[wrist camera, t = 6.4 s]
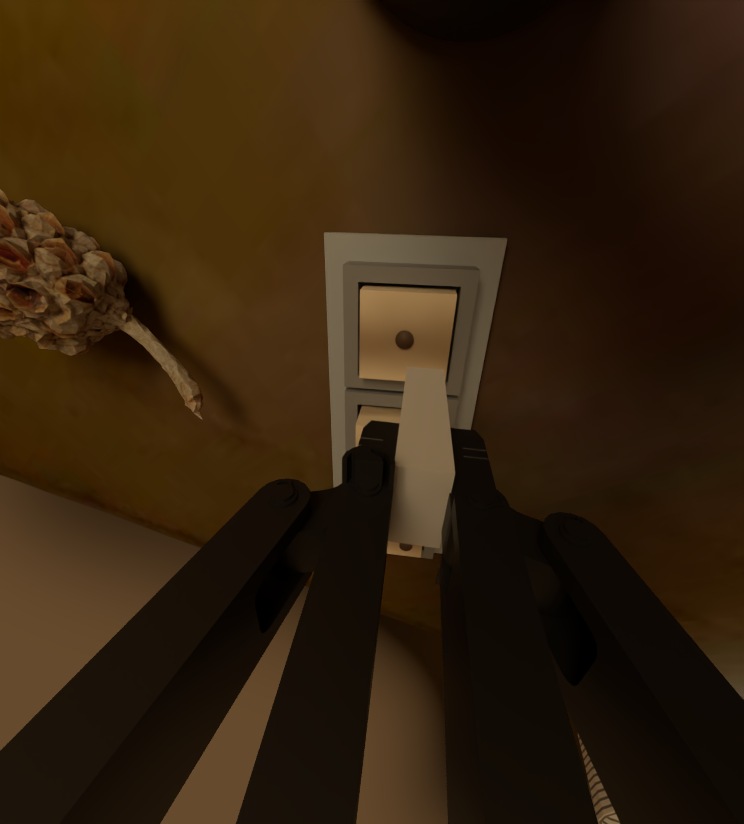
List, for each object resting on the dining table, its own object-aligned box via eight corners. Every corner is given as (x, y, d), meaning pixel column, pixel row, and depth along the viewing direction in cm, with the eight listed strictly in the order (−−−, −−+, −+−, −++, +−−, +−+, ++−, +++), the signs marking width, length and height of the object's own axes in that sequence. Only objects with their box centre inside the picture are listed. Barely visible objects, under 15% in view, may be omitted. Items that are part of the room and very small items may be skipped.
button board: (328, 232, 24) (315, 233, 22) (503, 237, 23) (515, 240, 20) (338, 531, 39) (331, 557, 36) (445, 545, 38) (447, 572, 35)
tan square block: (366, 282, 24) (359, 290, 22) (453, 286, 24) (457, 295, 21) (365, 362, 27) (358, 378, 25) (442, 368, 27) (444, 385, 24)
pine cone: (-12, 260, 29) (-197, 278, 20) (-1, 141, 24) (-232, 99, 16) (224, 410, 33) (154, 477, 25) (269, 332, 29) (203, 380, 20)
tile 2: (361, 405, 27) (355, 426, 25) (438, 411, 27) (440, 434, 24) (361, 466, 30) (354, 491, 28) (430, 473, 30) (431, 499, 27)
